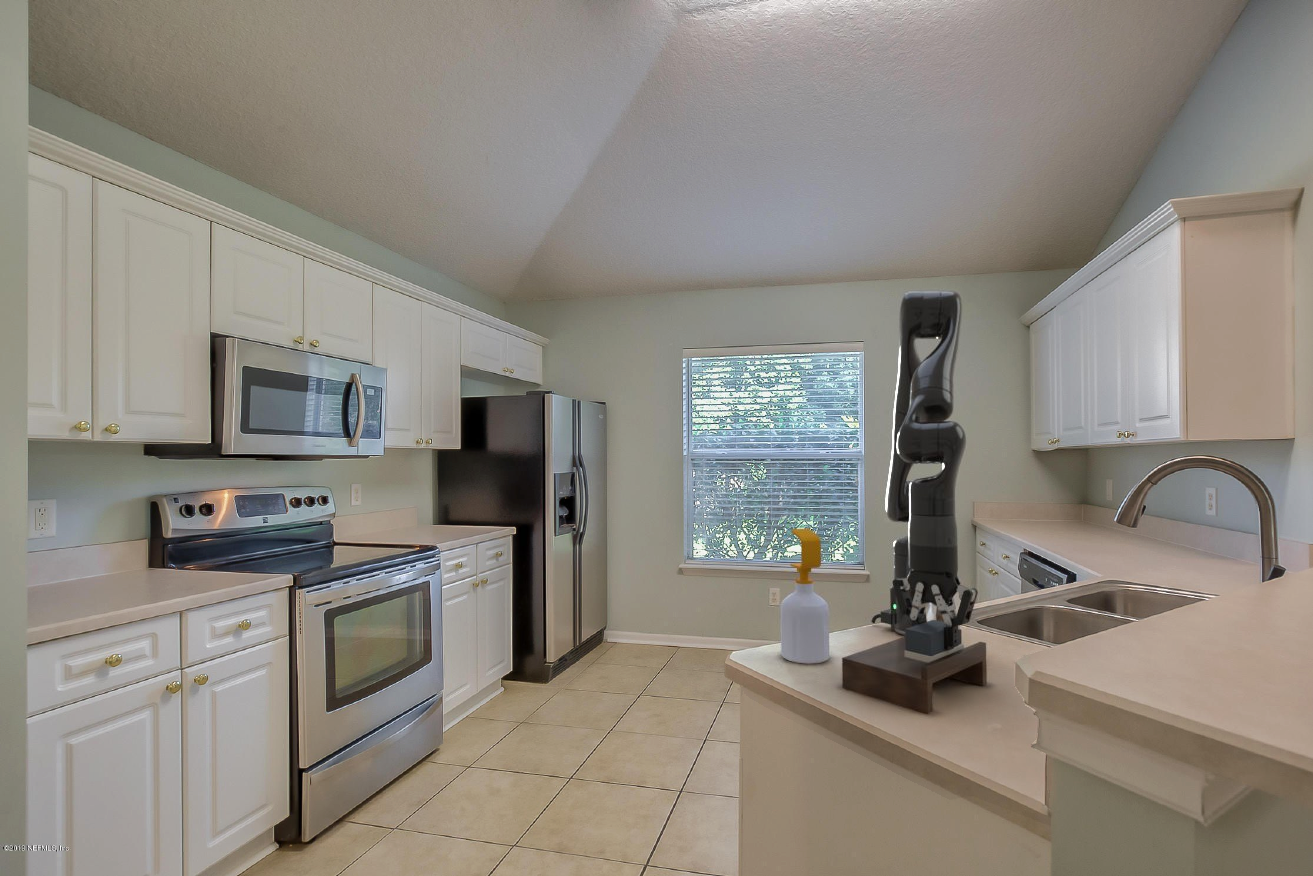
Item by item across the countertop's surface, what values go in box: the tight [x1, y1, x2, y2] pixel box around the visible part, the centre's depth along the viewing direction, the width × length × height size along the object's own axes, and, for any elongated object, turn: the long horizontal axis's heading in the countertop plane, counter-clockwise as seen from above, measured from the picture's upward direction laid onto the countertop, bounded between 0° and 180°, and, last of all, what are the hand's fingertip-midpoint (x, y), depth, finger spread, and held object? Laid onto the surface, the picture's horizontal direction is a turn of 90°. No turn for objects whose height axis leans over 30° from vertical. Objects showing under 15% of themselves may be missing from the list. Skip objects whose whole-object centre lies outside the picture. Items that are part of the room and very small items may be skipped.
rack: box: [841, 636, 988, 715], centre depth 111 cm, size 15×20×7 cm
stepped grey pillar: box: [904, 620, 965, 663], centre depth 109 cm, size 11×4×4 cm, turn 130°
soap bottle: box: [780, 528, 830, 665], centre depth 128 cm, size 9×9×25 cm
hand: (934, 645), depth 109 cm, fingers closed on stepped grey pillar, 4 cm apart
